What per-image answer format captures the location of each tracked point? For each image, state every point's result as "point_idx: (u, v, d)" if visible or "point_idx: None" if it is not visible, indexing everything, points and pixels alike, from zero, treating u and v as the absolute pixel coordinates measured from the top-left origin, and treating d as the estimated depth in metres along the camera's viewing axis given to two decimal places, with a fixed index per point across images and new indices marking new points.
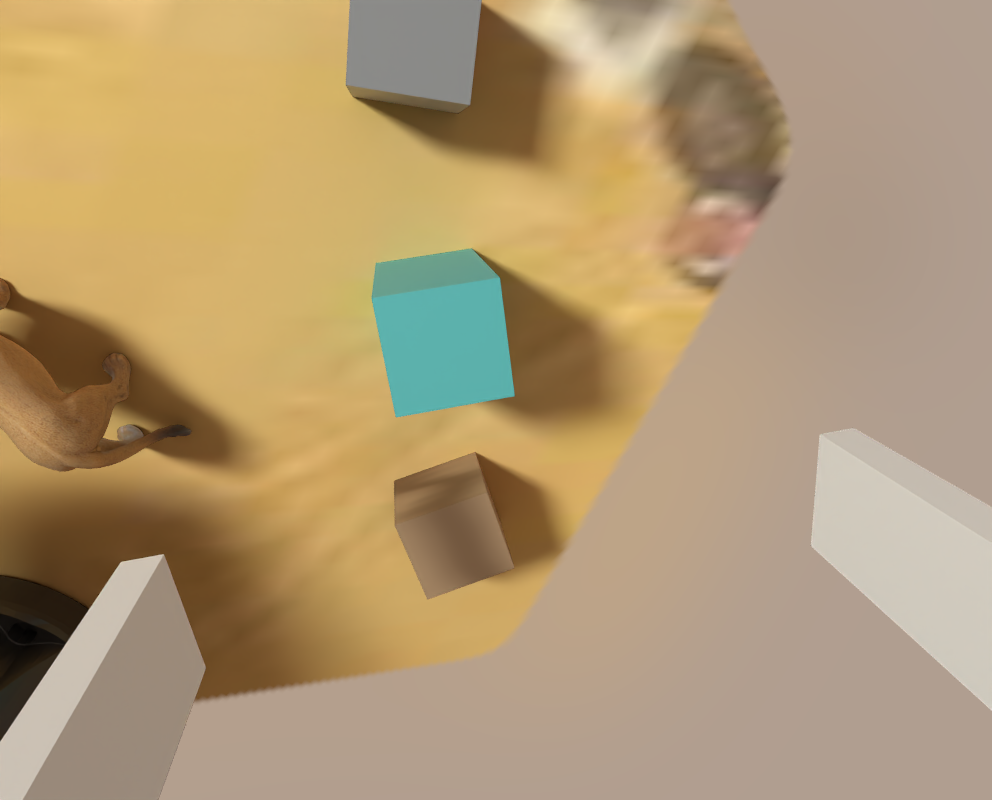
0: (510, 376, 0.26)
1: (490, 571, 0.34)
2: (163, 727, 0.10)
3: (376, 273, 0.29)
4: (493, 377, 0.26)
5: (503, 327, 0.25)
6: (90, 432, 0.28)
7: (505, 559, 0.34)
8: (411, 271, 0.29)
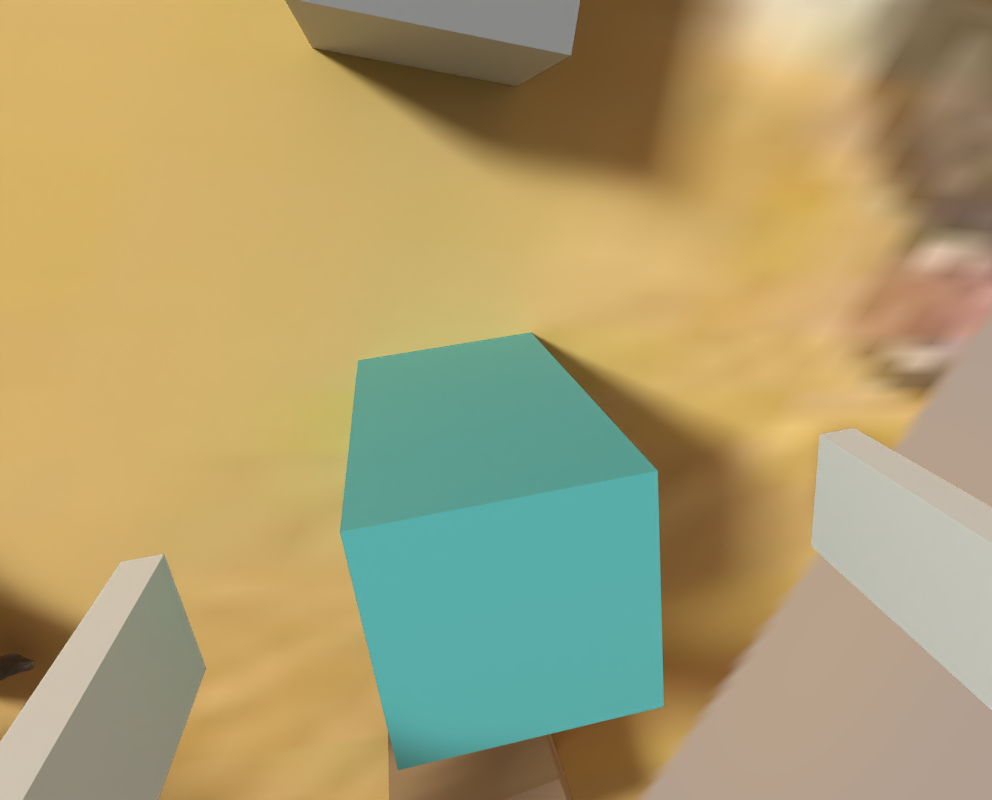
0: (659, 671, 0.12)
1: None
2: (163, 727, 0.10)
3: (357, 400, 0.15)
4: (620, 676, 0.11)
5: (654, 575, 0.11)
6: None
7: None
8: (429, 403, 0.14)
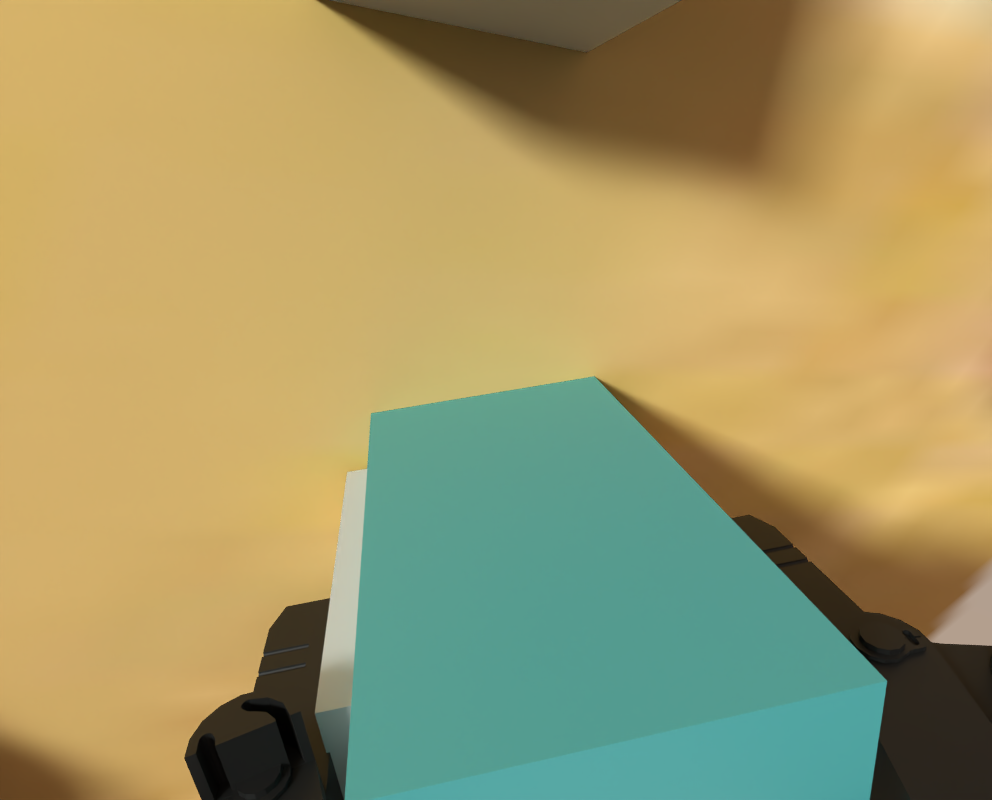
0: None
1: None
2: None
3: (371, 485, 0.11)
4: None
5: None
6: None
7: None
8: (472, 495, 0.10)
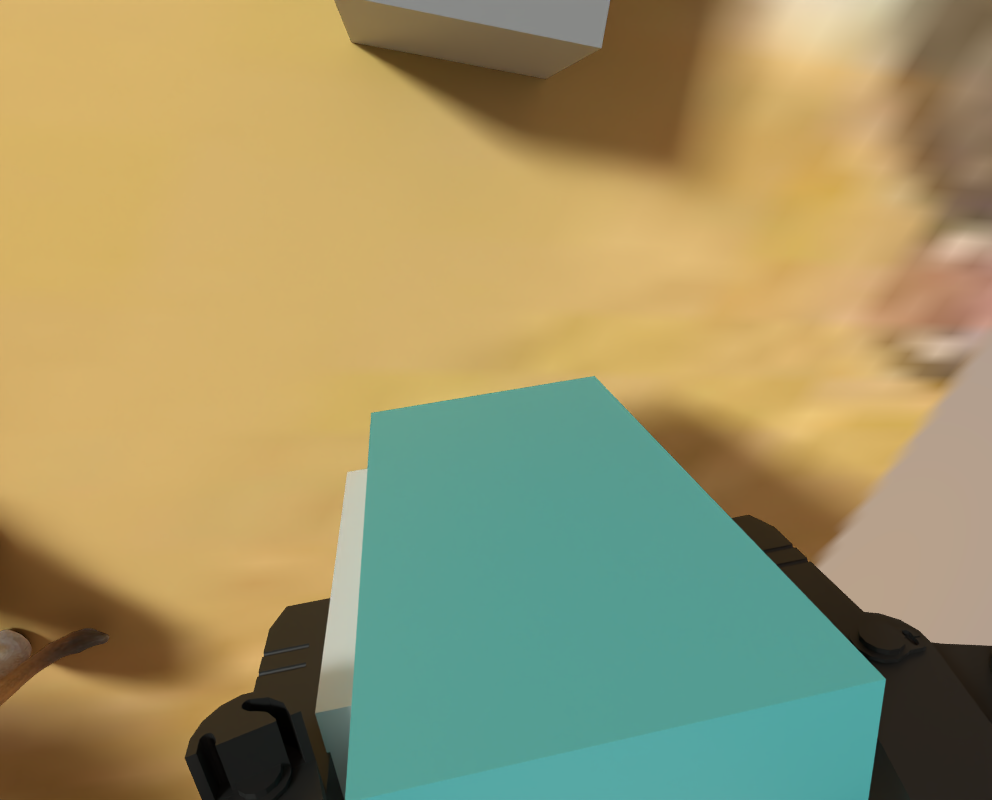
0: None
1: None
2: None
3: (371, 484, 0.11)
4: None
5: None
6: None
7: None
8: (472, 495, 0.10)
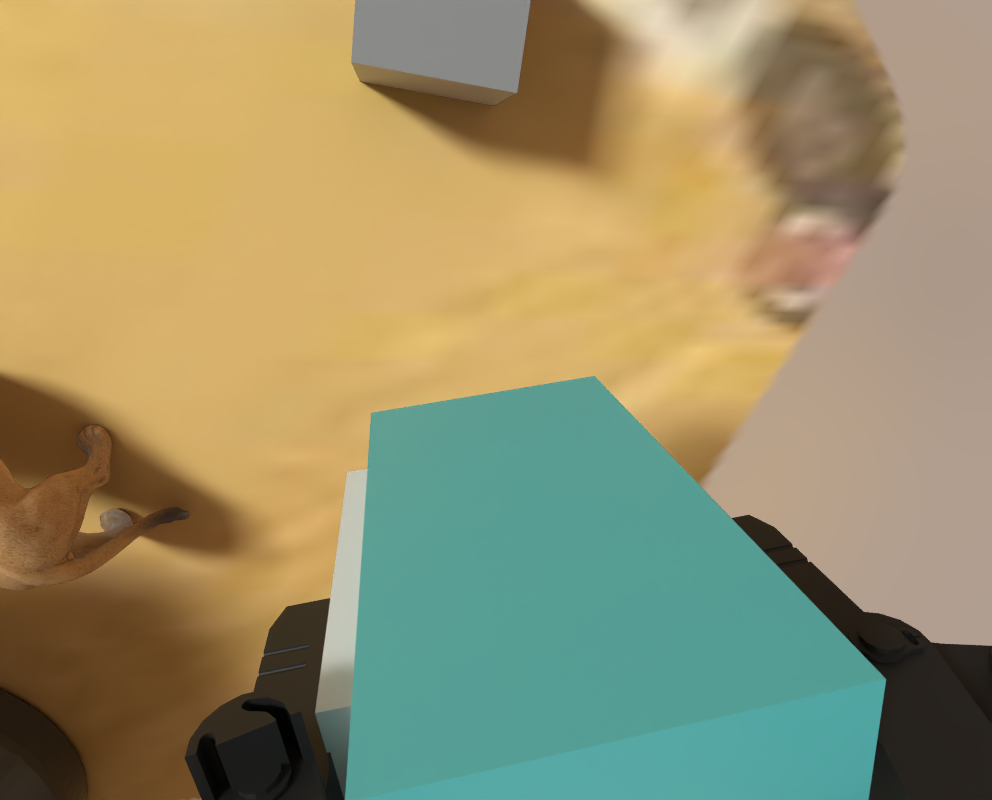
0: None
1: None
2: None
3: (371, 484, 0.11)
4: None
5: None
6: (56, 540, 0.22)
7: None
8: (472, 495, 0.10)
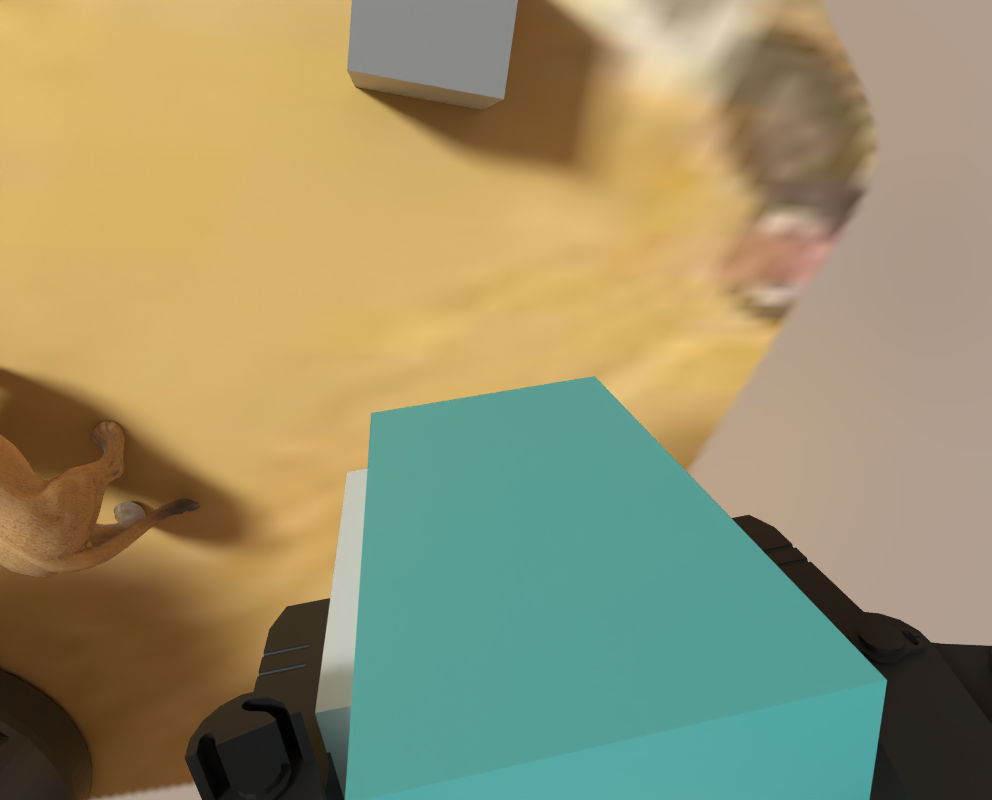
0: None
1: None
2: None
3: (371, 485, 0.11)
4: None
5: None
6: (76, 529, 0.23)
7: None
8: (473, 495, 0.10)
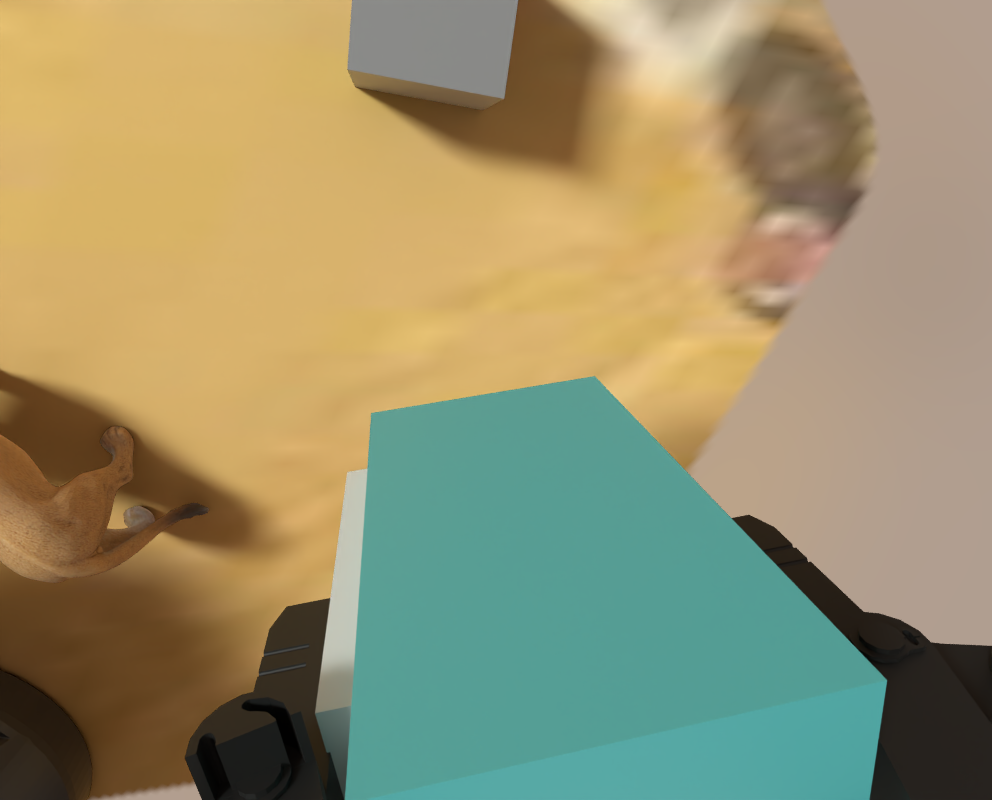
0: None
1: None
2: None
3: (371, 485, 0.11)
4: None
5: None
6: (87, 534, 0.23)
7: None
8: (473, 495, 0.10)
